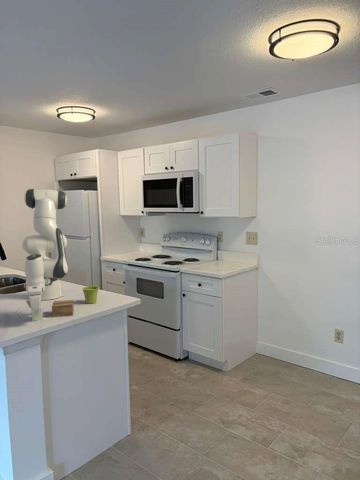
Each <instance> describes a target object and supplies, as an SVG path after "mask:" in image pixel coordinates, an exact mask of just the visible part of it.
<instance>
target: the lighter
mask: <svg viewBox="0 0 360 480" xmlns="http://www.w3.org/2000/svg"><path fill="white" fill-rule="evenodd" d="M25 303H26V304H27V305H28V307H29V309H31V306H30V300H29V299H27V300H26V301H25ZM40 306H42V305H41V304H40Z"/></svg>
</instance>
